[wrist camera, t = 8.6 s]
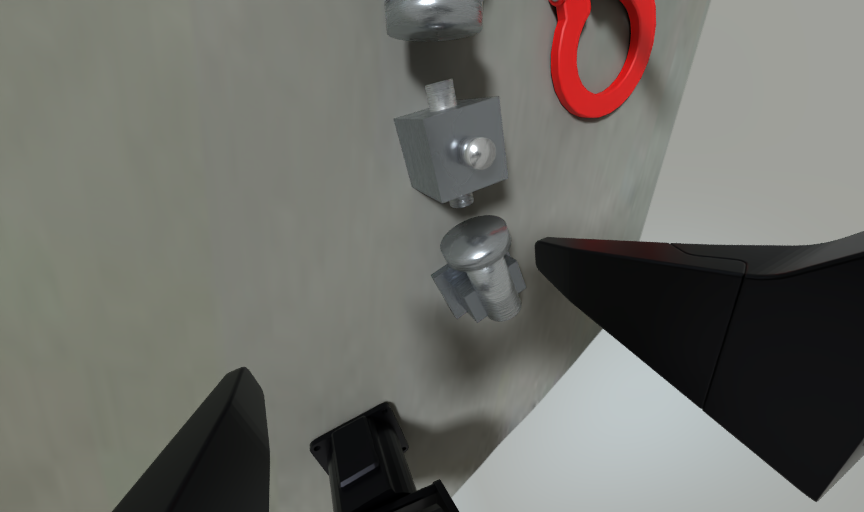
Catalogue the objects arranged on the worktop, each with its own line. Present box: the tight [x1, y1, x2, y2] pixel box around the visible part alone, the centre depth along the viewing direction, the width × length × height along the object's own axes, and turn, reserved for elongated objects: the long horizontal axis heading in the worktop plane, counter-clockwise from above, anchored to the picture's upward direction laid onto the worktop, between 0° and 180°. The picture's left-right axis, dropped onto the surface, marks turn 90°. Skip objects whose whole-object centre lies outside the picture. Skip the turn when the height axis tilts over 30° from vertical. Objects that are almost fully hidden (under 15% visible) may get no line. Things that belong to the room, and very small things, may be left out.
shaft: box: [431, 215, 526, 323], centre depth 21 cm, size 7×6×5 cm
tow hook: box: [549, 0, 656, 118], centre depth 16 cm, size 8×13×9 cm
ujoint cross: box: [394, 78, 508, 208], centre depth 17 cm, size 6×4×6 cm, turn 14°
